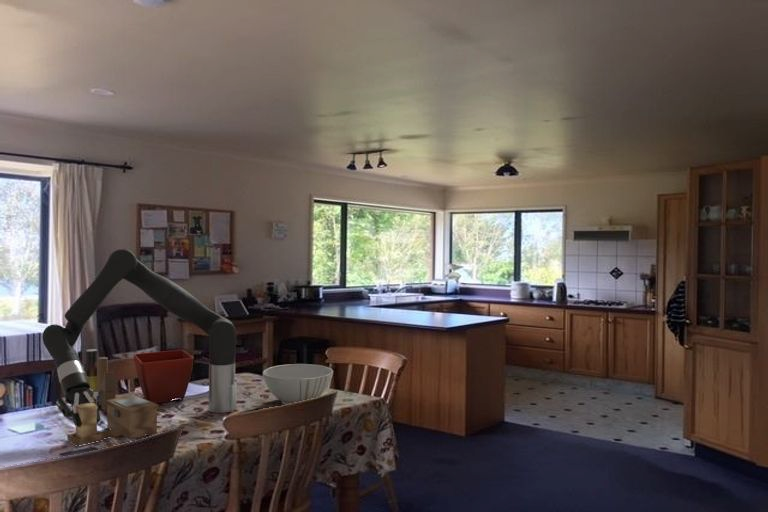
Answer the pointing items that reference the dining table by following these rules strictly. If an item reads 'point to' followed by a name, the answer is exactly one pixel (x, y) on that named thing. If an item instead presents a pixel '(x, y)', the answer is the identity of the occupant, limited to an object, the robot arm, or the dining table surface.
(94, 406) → the tan cylinder
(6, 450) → the dining table surface
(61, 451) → the dining table surface
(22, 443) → the dining table surface
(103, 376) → the wooden block
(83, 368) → the robot arm
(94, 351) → the sauce bottle
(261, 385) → the dining table surface
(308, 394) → the decorative bowl
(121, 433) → the brown box with frame
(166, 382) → the plant pot
